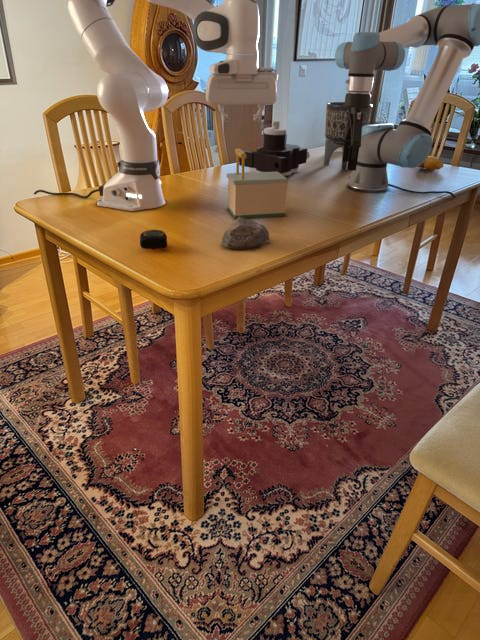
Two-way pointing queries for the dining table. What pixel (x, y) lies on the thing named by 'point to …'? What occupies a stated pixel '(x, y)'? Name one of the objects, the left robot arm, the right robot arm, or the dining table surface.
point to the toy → (431, 164)
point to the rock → (245, 234)
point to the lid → (253, 174)
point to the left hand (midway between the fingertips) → (241, 121)
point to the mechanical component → (276, 153)
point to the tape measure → (153, 239)
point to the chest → (257, 200)
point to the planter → (339, 128)
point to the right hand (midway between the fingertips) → (348, 165)
